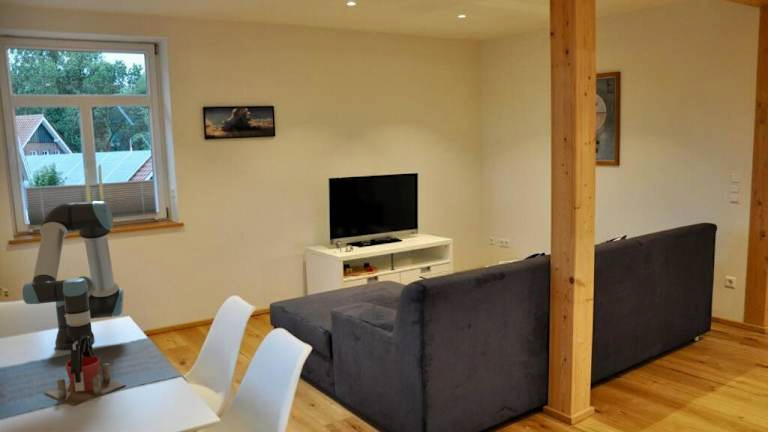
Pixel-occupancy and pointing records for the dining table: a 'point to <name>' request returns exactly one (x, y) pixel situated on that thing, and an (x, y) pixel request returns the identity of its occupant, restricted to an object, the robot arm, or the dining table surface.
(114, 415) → the dining table surface
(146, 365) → the dining table surface
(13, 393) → the dining table surface
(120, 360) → the dining table surface
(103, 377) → the plant stand
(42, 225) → the robot arm
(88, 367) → the flower pot
